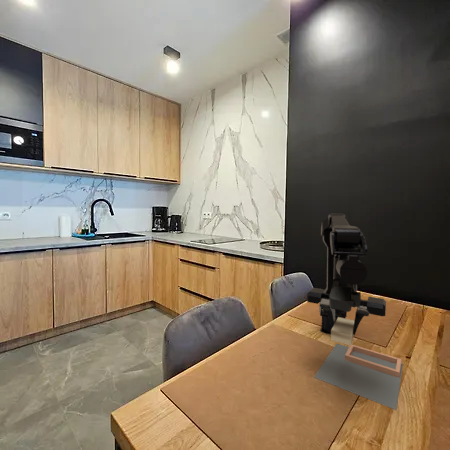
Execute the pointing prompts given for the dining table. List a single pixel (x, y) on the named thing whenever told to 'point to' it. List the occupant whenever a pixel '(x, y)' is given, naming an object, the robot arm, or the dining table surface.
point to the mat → (361, 377)
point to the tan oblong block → (342, 331)
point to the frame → (370, 364)
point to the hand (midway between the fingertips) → (343, 331)
